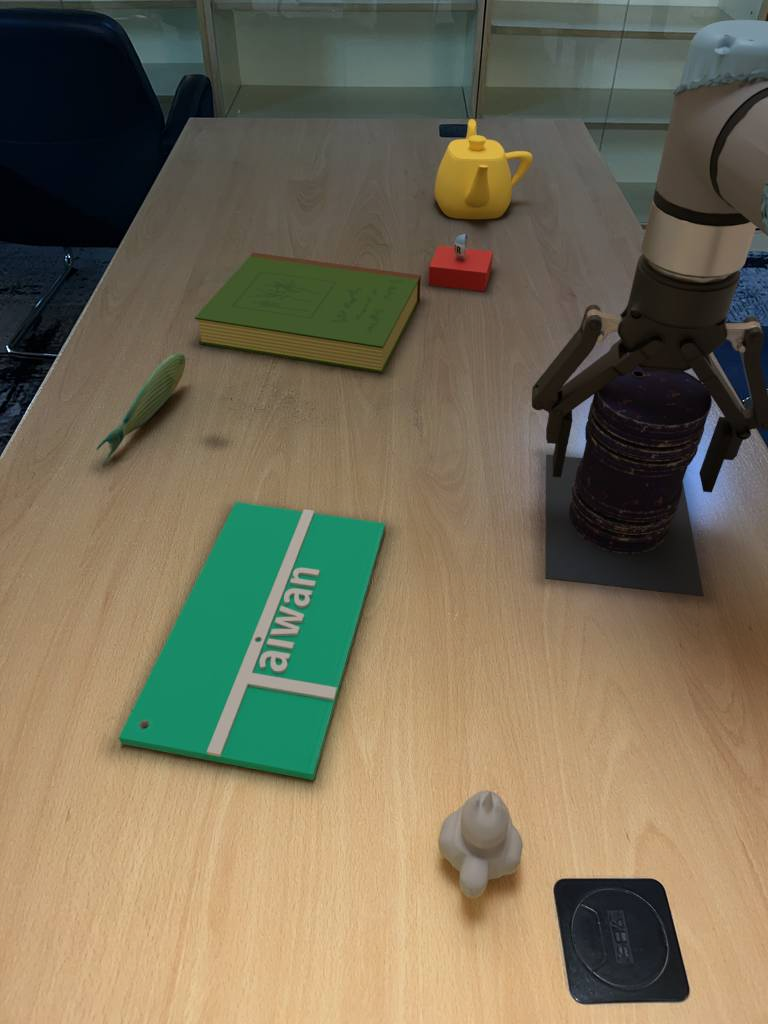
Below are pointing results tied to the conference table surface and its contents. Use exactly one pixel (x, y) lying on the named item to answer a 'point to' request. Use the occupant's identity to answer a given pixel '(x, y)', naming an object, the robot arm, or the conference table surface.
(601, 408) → the rusty barrel
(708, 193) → the robot arm
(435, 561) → the conference table surface
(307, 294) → the book
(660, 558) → the mat
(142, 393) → the decorative fish
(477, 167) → the teapot
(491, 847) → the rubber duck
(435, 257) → the red rectangular block
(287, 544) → the sign
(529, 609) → the conference table surface
